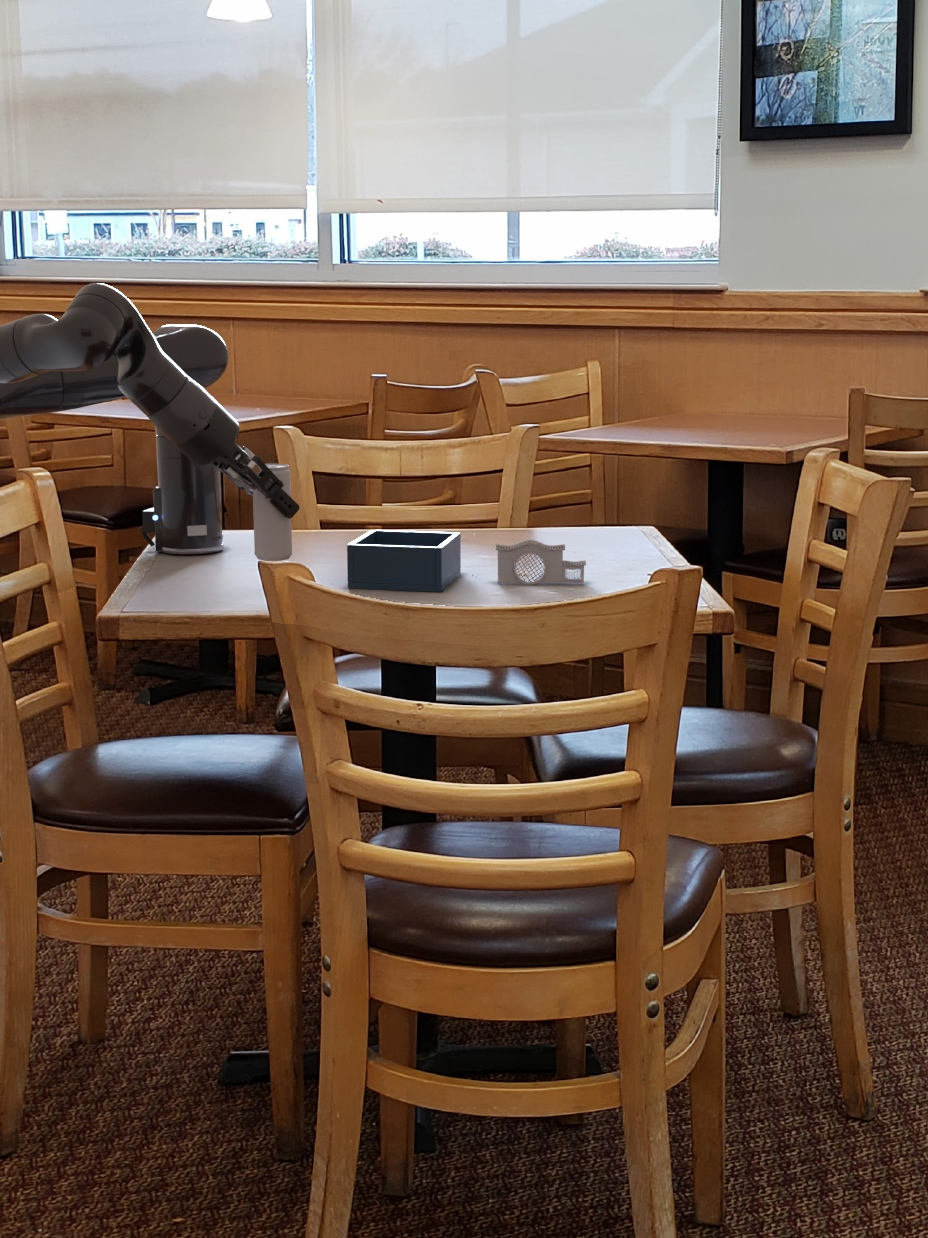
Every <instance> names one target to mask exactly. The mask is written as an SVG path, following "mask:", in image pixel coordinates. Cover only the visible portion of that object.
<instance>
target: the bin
mask: <svg viewBox="0 0 928 1238" xmlns="http://www.w3.org/2000/svg"><path fill="white" fill-rule="evenodd" d="M461 534H462V533H461V532H453V531H451V532H450V531H425V530H424V531H423V530H421V531H420V530H419V531H418V530H394V529H393V530H389V529H388V530H387V529H371V530H369V531H367V532H366V533H364V534H363V535H361V536H359V537H358V538H356V539H355V540H353V541H351V542H349V543H348V544H347V545H346V559H347V560H346V565H347V571H346V572H347V589H357V590H380V591H381V590H382V591H405V592H426V593H427V592H431V593H442V592H443V591H444V590H445V589H446V588H448V586H450V585H451V583H453V582H454V581H455V580H456V579H457V578H458V577H459V576H460V575H461V573H462V572H461V571H462V570H461V569H462V568H461V565H462V563H461V560H462V559H461V556H462V555H461V554H462V553H461V552H462V551H461V549H462V547H461V545H462V543H461V542H462V541H461V539H462V537H461Z"/></svg>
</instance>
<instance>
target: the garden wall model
mask: <svg viewBox="0 0 928 1238" xmlns="http://www.w3.org/2000/svg"><path fill="white" fill-rule="evenodd" d="M495 551H497V584H525V585H529V586H530V585H536V584H585V567H586V566H587V564H586V563H587V561H586V560H579V561H571V560H563V555H564V554H563V553H564V552H563V551H566V544H565V543H563V544H554V545H553V544H545V543H542V542H541V541H538V540H535V539H525V540H522V541H520V542H517V543H514V544H511V545H510V544H507V545H506V544H505V545H504V544H497V543H496V544H495ZM528 555H529V556H528ZM525 557H526V558H525ZM522 559H523V560H522ZM536 560H537V561H536ZM537 563H539V564H537ZM521 564H522V565H521ZM542 564H543V565H542ZM518 566H519V567H518ZM539 566H540V567H539ZM532 567H533V568H532ZM536 568H538V569H536ZM519 569H520V570H519ZM524 569H525V570H524ZM529 569H530V570H529ZM541 569H542V570H541ZM534 570H535V571H534ZM571 570H572V571H571ZM521 571H522V572H521ZM526 571H527V572H526ZM531 572H532V573H531ZM518 573H519V574H518ZM523 573H524V575H523ZM536 573H537V574H536ZM528 574H529V575H528ZM533 575H534V576H533ZM525 576H526V577H525ZM524 577H525V578H524ZM530 577H531V578H530Z"/></svg>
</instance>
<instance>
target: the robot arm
mask: <svg viewBox="0 0 928 1238" xmlns="http://www.w3.org/2000/svg"><path fill="white" fill-rule="evenodd" d="M229 357H230V356H229V350H228V346H227V345H226V343H225V341H224V340H223V338H222V337H221V336H220V335H219V334H218V333H217V332H215V331H214V330H212V329H210V328H207V327H205V326H202V325H197V324H166V325H162V326H161V327H159V328H157V329H156V330H155V331H153V333H152V331H151V330H150V328H149V327H148V325H147V324H146V322H145V320H144V319H143V317H142V315H141V314H140V313H139V311H138V309H137V308H136V306H135V305H134V304H133V302H131V300H130V299H129V298H127V296H125V295H124V294H123V293H122V292H121V291H119V290H118V289H116V288H114V287H113V286H110V285H108V284H105V283H99V282H98V283H97V282H93V283H89V284H86V285H84V286H83V287H81V289H79V290H78V291H77V293H76V294H75V296H74V297H73V299H72V300H71V302H70V303H69V305H68V307H67V308H66V310H65V311H64V313H63V315H62V316H61V317H60V318H59V319H57V318H55V317H54V316H52V315H50V314H47V313H33V314H30V315H26V316H23V317H21V318H18V319H15V320H12V321H10V322H6V323H3V324H1V325H0V421H2V420H9V419H15V418H23V417H29V416H30V417H31V416H38V415H43V414H44V415H45V414H53V413H58V412H66V411H70V410H77V409H82V408H86V407H89V406H95V405H99V404H104V403H107V402H112V401H116V400H120V399H123V398H127V400H129V401H130V402H131V403H132V404H133V405H134V406H136V408H138V410H139V411H140V412H142V413H143V414H144V415H145V416H146V417H147V418H148V419H149V420H150V421H151V423H152V424H153V426H154V430H155V431H154V432H155V447H156V450H155V451H156V467H157V468H156V469H157V471H156V472H157V473H156V474H157V486H155V487H154V488H153V489H152V496H153V497H152V498H153V499H152V500H153V501H152V502H153V503H152V504H153V507H150V508H147V509H144V510H142V526H141V534H142V536H143V538H144V540H145V541H146V542H147V543H148V545H149V546H150V548H151V547H152V548H153V546H155V552H157V553H165V554H171V555H205V554H212V553H216V552H220V551H223V550H224V548H225V547H224V534H223V508H222V507H223V506H222V504H223V503H222V483H221V482H222V477H221V475H224V476H225V477H226V478H227V479H228V480H230V482H231V483H232V484H234V485H235V486H236V487H237V488H238V489H239V490H241V491H245V493H246V494H247V495H250V496H253V491H254V490H256V491H257V492H258V493H259V494H261V495H262V496H263V497H264V499H265V500H268V501H269V502H270V503H271V504H272V505H273V506H274V507H275V508H276V509H277V510H278V511H279V512H281V513H282V514H283V515H284V516H285V517H286V518H289V519H291V520H292V518H293V517H295V515H296V514H297V513H298V512H299V510H300V508H301V507H300V505H299V504H298V502H297V501H295V500H294V499H293V498H292V496H291V497H290V496H289V495H288V494H287V493H286V492H285V491H284V490H283V489H282V487H283V486H284V484H283V482H282V481H281V480H279V479H278V478H277V477H276V476H275V474H274V473H273V472H272V471H271V470H270V469H269V468H268V467H267V466H266V465H265V464H266V463H265V462H264V461H263V460H262V458H261V457H260V456H259V455H256V454H254V452H253V451H251V450H250V449H249V448H247V446H244V445H243V446H242V447H241V446H240V445H239V444H237V443H236V439H237V437H238V436H239V433H240V424H239V421H238V420H236V418H234V417H233V416H232V415H231V414H230V413H229V412H228V411H227V410H226V409H225V408H224V407H223V406H222V405H221V404H220V403H219V402H218V401H217V400H216V399H215V398H214V397H213V396H212V395H211V394H210V393H209V392H208V391H207V390H206V388H208V387H210V386H211V387H212V385H214V384H215V383H217V382H218V381H219V380H220V379H221V378H222V377H223V375H224V374H225V372H226V370H227V367H228V364H229V361H230V360H229V359H230V358H229ZM268 481H269V482H270V483H271V486H270V487H269V488H268V489H266V488H265V484H266V483H267V482H268ZM148 533H154V541H153V539H152V538H151V537H150V536H149V534H148Z"/></svg>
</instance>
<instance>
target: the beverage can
mask: <svg viewBox="0 0 928 1238" xmlns="http://www.w3.org/2000/svg"><path fill="white" fill-rule="evenodd" d="M264 464H265V465H266V466H267V467H268V468H269V469H270V470H271V471H272V472H273V473H274V474H275V476H276V477H277V478H278V479H279V480H281V481H282V482H283V484H284V486H283V487H282V489H283V490H284V491H285V492H286V493H287V494H288V495H289V496H290V497H291V498H292V495H291V494H292V489H291V484H292V483H291V470H290V469H289V468H290V464H287V463H286V464H285V463H264ZM270 486H271V483H270V482H269V481H268V482H267V483H266V484H265V488H266V489H268V488H269V487H270ZM252 508H253V511H252V512H253V513H252V515H253V544H254V545H253V546H254V555H255V557H256V559H257V560H260V561H263V562H280V561H281V562H282V561H286V560H289V559H290V558H291V557H292V555H293V529H292V525H293V524H292V518H291V519H289V518H286V517H285V516H284V515H283V514H282V513H281V512H279V511H278V510H277V509H276V508H275V507H274V506H273V505H272V504H271V503H270V502H269V501H268V500H265V499H264V497H263V496H262V495H261V494H259V493H258V492H257V491H256V490H254V491H253V494H252Z"/></svg>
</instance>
